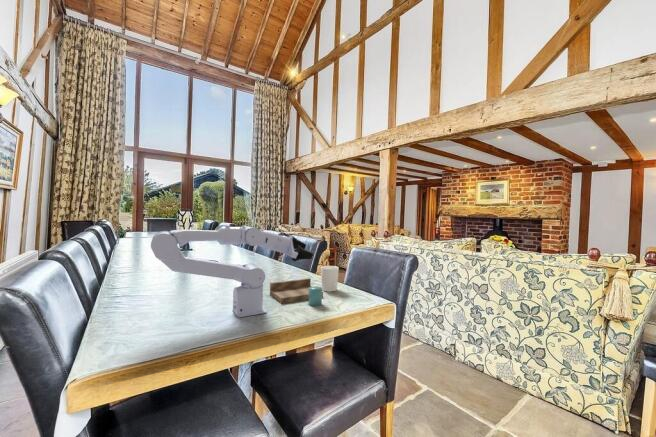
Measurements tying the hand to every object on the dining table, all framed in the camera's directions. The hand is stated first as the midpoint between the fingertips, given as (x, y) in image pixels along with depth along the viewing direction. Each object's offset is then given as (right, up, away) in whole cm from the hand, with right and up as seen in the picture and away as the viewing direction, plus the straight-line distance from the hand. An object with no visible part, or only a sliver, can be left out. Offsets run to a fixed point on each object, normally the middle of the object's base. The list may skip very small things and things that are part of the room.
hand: (308, 251), depth 106 cm
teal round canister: (+2, -20, 0) cm, 20 cm away
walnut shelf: (-6, -19, +9) cm, 22 cm away
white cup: (+8, -19, +19) cm, 29 cm away
